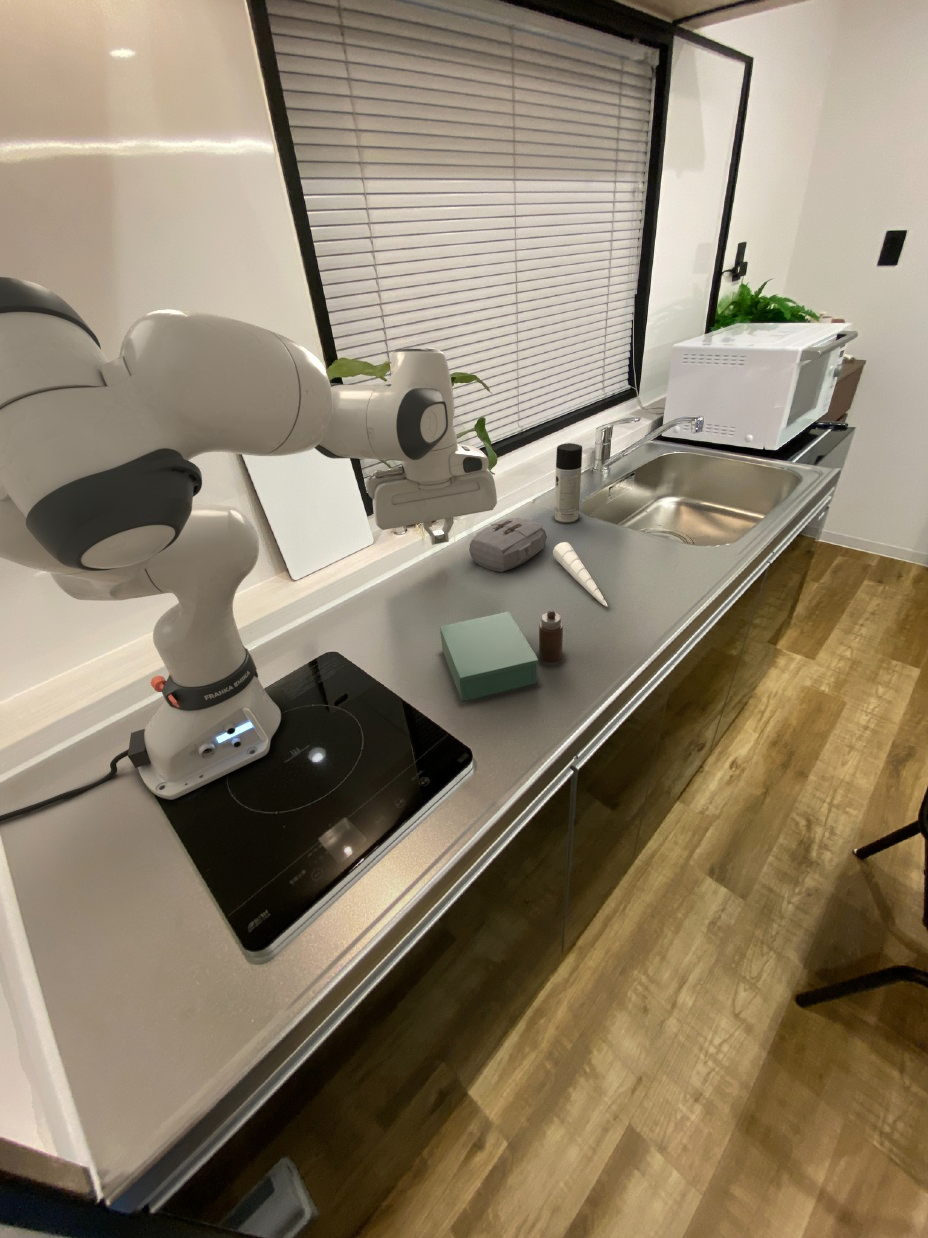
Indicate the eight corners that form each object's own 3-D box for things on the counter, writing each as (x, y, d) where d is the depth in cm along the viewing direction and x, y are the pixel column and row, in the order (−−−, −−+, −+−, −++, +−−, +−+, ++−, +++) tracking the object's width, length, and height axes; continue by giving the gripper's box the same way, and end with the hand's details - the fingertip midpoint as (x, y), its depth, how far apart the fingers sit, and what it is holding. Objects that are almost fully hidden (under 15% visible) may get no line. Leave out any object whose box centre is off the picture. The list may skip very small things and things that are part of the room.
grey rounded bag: (508, 579, 124) (559, 546, 135) (507, 547, 119) (560, 516, 130) (462, 560, 133) (513, 531, 144) (459, 530, 128) (512, 502, 140)
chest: (536, 686, 93) (536, 660, 90) (462, 704, 91) (459, 678, 88) (509, 639, 105) (509, 614, 102) (443, 654, 103) (440, 629, 100)
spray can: (565, 511, 153) (567, 440, 141) (583, 517, 148) (587, 445, 137) (549, 518, 149) (550, 447, 138) (568, 525, 145) (570, 452, 133)
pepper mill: (552, 669, 97) (553, 621, 91) (534, 659, 99) (534, 612, 93) (566, 657, 99) (568, 610, 93) (548, 648, 102) (549, 602, 96)
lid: (538, 663, 89) (538, 659, 89) (460, 681, 87) (460, 678, 87) (509, 614, 102) (508, 611, 101) (439, 629, 100) (439, 626, 99)
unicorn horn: (590, 612, 110) (591, 592, 108) (551, 560, 130) (551, 542, 127) (611, 608, 111) (613, 588, 108) (570, 557, 130) (570, 539, 128)
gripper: (366, 478, 79) (381, 561, 86) (498, 457, 82) (501, 538, 90) (361, 466, 84) (376, 545, 91) (486, 446, 87) (490, 524, 95)
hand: (439, 542), depth 91 cm, fingers closed
